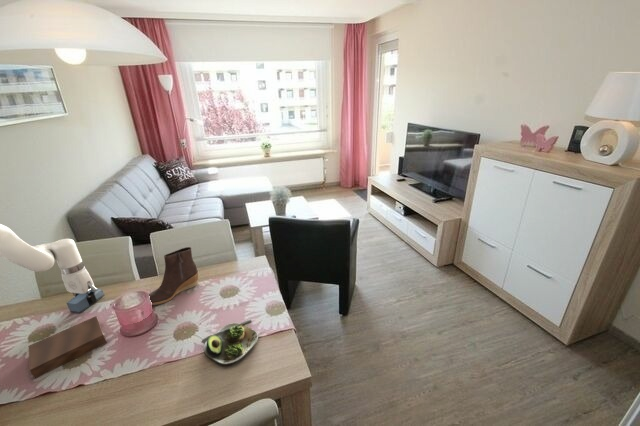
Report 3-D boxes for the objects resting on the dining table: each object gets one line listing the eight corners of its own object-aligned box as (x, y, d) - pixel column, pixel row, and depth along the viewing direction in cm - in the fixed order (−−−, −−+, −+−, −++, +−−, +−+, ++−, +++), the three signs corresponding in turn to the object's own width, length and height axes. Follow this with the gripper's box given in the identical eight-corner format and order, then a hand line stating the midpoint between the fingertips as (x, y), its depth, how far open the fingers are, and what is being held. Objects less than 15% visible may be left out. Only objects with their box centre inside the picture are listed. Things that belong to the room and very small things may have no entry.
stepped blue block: (80, 313, 123) (76, 303, 121) (70, 312, 124) (66, 302, 122) (104, 295, 134) (100, 286, 132) (95, 294, 135) (91, 285, 133)
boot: (142, 302, 128) (128, 263, 120) (196, 277, 143) (187, 241, 135) (148, 311, 122) (134, 271, 114) (204, 285, 137) (195, 248, 129)
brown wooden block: (34, 378, 95) (29, 370, 93) (33, 354, 104) (28, 345, 103) (107, 342, 107) (103, 334, 106) (99, 323, 117) (96, 315, 115)
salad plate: (237, 315, 117) (235, 306, 115) (270, 333, 108) (269, 323, 106) (195, 350, 102) (192, 340, 101) (229, 373, 93) (227, 363, 91)
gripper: (46, 271, 120) (63, 306, 127) (81, 274, 117) (96, 310, 124) (64, 261, 127) (79, 295, 134) (97, 264, 123) (111, 298, 130)
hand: (87, 302), depth 128 cm, fingers closed on stepped blue block, 5 cm apart
